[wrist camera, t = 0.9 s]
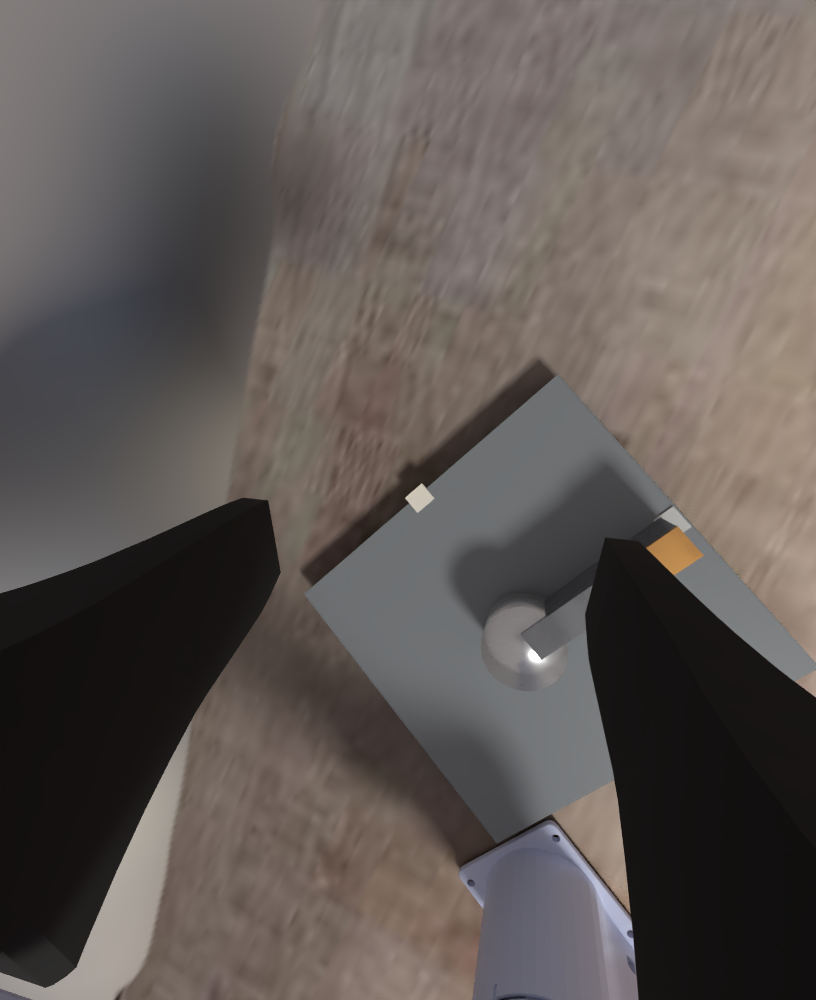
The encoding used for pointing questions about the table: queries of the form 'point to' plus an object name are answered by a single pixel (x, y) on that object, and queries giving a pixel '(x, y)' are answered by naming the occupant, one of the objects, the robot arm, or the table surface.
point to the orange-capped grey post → (560, 616)
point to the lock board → (504, 569)
